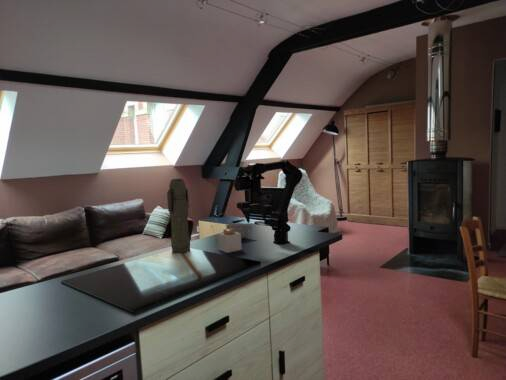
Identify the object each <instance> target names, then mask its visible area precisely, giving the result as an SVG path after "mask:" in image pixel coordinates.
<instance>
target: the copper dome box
mask: <svg viewBox="0 0 506 380" xmlns="http://www.w3.org/2000/svg"><path fill="white" fill-rule="evenodd" d="M217 242H218V243H217V246H218V250H219V251H221V252H223V253H227V254H228V253H233V252H238V251H242V239H241V233H237V232H235V233H234V234H223V232H219V233H217Z"/></svg>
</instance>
